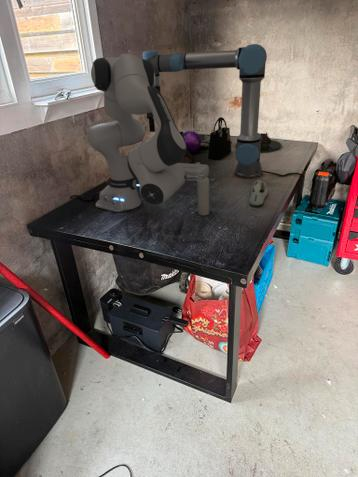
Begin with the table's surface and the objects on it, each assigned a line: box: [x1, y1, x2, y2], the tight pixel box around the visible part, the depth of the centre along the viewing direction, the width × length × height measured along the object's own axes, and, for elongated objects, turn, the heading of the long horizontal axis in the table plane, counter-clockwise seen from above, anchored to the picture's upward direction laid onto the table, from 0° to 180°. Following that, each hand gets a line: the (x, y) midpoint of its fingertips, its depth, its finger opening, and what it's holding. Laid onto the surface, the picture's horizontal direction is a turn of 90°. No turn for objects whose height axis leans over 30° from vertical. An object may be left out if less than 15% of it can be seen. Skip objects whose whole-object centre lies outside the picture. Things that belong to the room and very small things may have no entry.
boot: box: [179, 131, 194, 164], centre depth 209 cm, size 9×24×20 cm, turn 168°
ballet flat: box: [249, 179, 269, 207], centre depth 158 cm, size 8×24×8 cm, turn 163°
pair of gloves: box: [199, 134, 233, 149], centre depth 250 cm, size 30×26×5 cm
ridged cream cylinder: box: [196, 176, 211, 216], centre depth 144 cm, size 5×5×20 cm
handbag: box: [207, 116, 232, 161], centre depth 217 cm, size 21×9×25 cm, turn 148°
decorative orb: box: [183, 130, 202, 154], centre depth 230 cm, size 15×15×15 cm
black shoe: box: [235, 132, 282, 154], centre depth 237 cm, size 32×35×9 cm
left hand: (185, 163), depth 118 cm, fingers open, 8 cm apart
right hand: (156, 128), depth 177 cm, fingers open, 13 cm apart
